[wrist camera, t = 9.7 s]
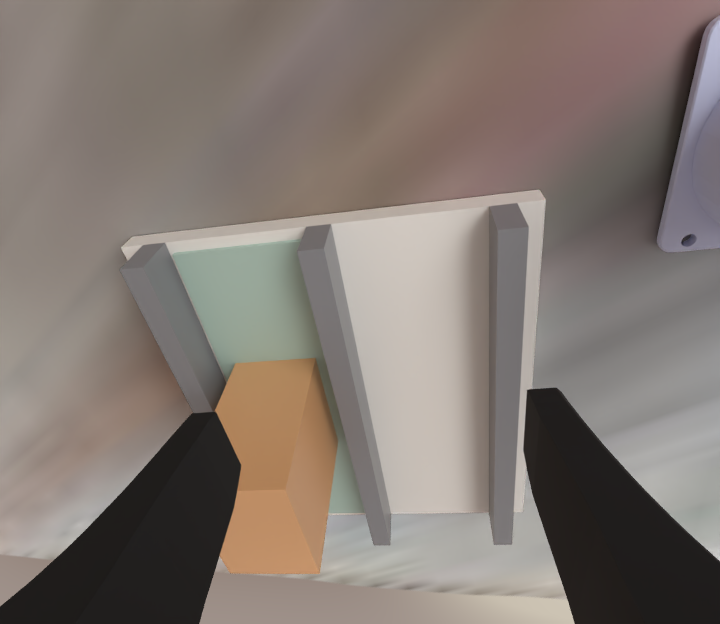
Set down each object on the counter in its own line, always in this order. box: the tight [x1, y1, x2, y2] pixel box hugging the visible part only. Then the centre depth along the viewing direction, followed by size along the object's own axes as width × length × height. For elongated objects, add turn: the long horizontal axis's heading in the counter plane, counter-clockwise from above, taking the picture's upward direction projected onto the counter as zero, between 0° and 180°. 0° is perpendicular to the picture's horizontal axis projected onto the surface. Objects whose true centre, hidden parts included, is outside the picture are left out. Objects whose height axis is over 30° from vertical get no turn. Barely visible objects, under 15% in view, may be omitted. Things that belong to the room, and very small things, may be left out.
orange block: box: [215, 358, 338, 574], centre depth 21 cm, size 4×6×7 cm, turn 9°
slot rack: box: [120, 190, 546, 545], centre depth 24 cm, size 17×20×3 cm
